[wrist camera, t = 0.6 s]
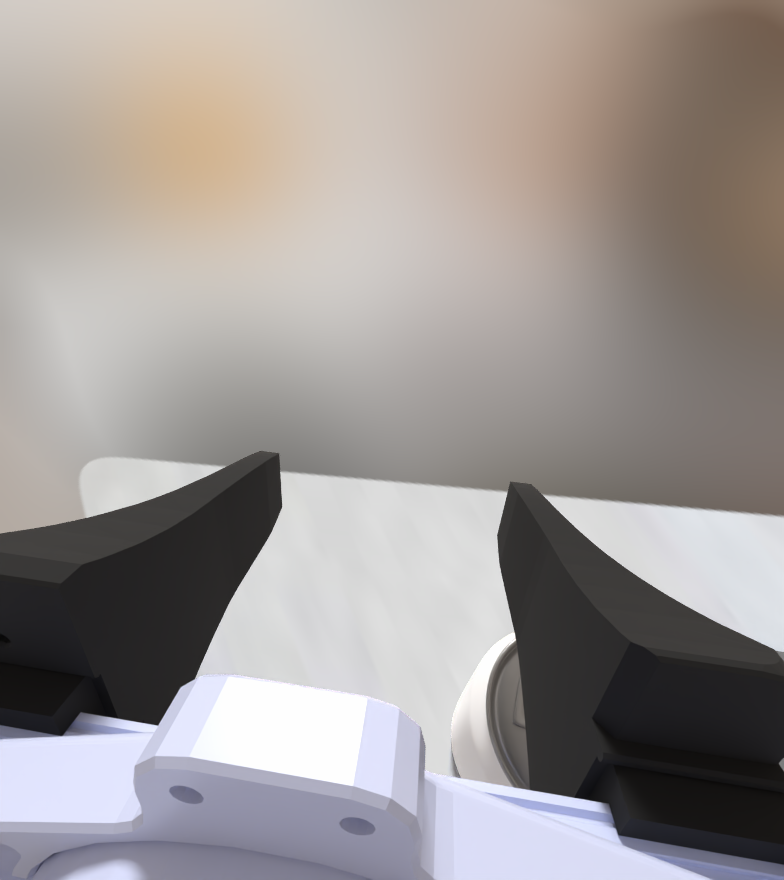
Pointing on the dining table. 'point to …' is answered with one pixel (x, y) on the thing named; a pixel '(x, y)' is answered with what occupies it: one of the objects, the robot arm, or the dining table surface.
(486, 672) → the can
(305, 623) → the dining table surface
